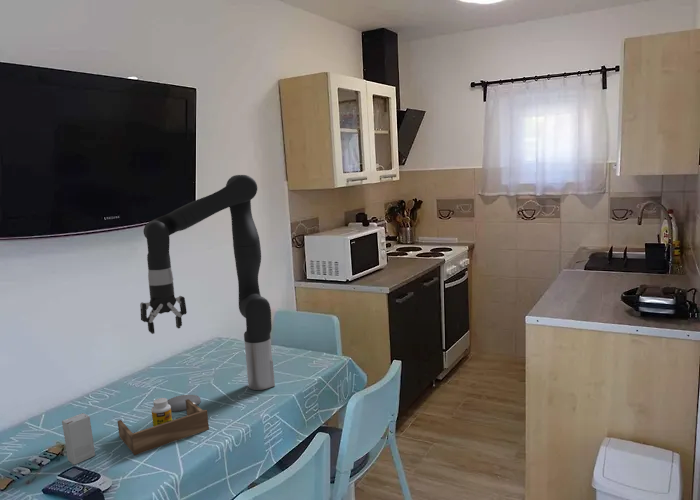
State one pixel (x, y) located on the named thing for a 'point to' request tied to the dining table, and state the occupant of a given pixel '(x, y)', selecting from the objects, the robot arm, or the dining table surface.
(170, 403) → the slate pad
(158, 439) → the brown wooden u-shaped piece
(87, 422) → the skincare box
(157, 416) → the supplement bottle
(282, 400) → the dining table surface
